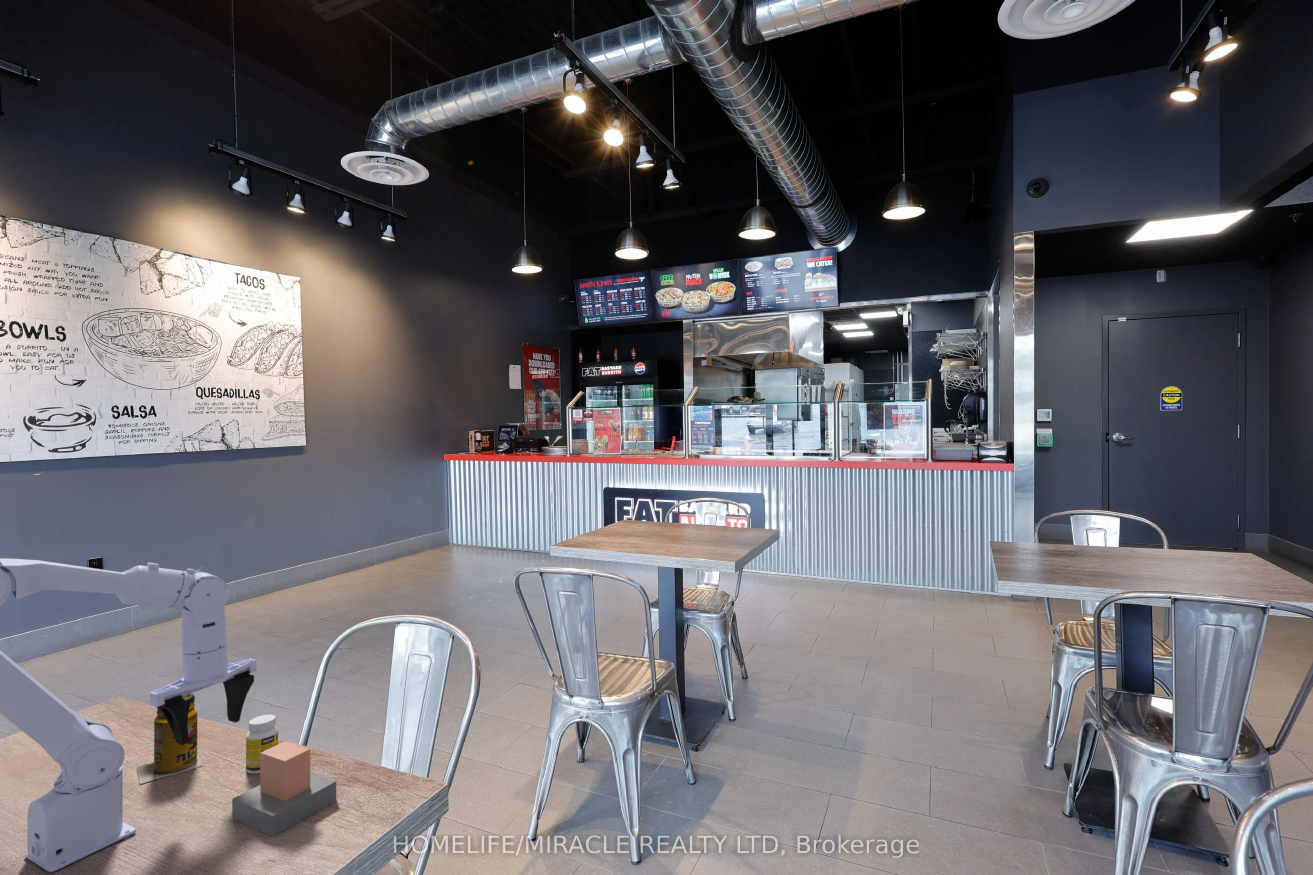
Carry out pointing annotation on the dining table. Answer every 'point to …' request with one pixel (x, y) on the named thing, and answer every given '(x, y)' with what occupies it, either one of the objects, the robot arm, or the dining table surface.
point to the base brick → (282, 806)
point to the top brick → (285, 770)
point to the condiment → (172, 748)
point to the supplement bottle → (260, 740)
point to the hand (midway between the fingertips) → (208, 731)
